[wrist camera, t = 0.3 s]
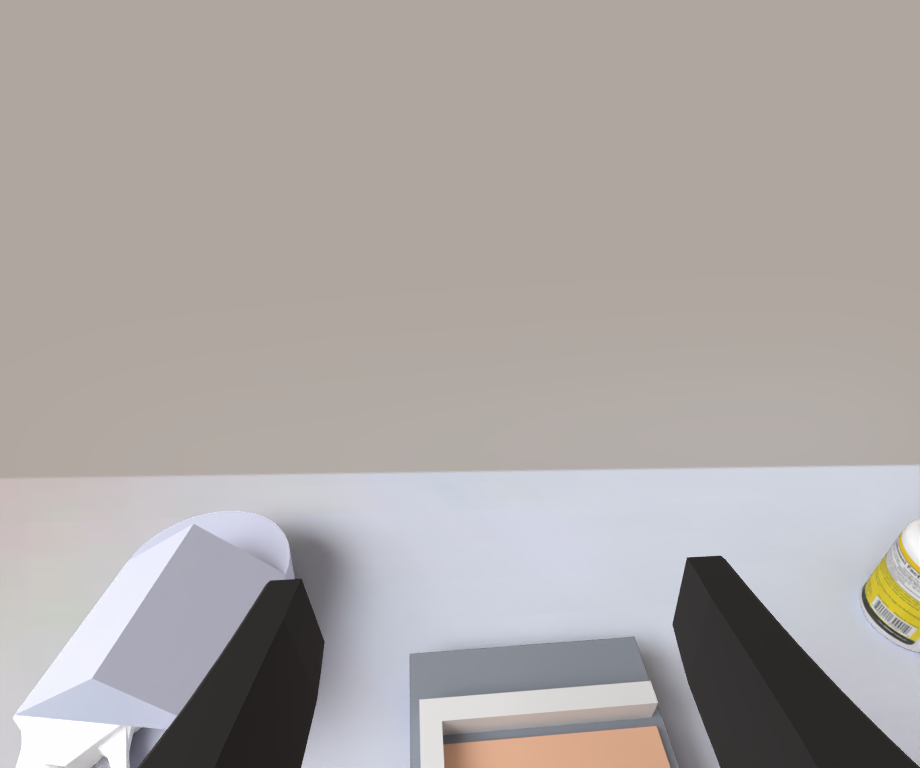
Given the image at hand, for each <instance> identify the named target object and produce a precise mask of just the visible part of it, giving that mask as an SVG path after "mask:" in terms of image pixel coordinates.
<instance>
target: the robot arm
mask: <svg viewBox="0 0 920 768" xmlns="http://www.w3.org/2000/svg"><path fill="white" fill-rule="evenodd" d="M673 628H674V632H675V636H676V640H677V643H678V647H679V651H680V655H681V659H682V662H683V666H684V670H685V673H686V677H687V680H688V683H689V686H690V689H691V692H692V694H693V697H694V700H695V702H696V705H697V707H698V710H699V713H700V715H701V718H702V721H703V723H704V726H705V729H706V731H707V734H708V736H709V739H710V742H711V744H712V747H713V749H714V752H715V754H716V757H717V760H718V762H719V765H720V767H721V768H920V767H919V766H918V765H917V764H916V763H915V762H914V761H913V760H911V759H910V758H909V757H908V756H907V755H906V754H905V753H904V752H903V751H902V750H901V749H900V748H899V747H898V746H897V745H896V744H895V743H894V742H893V741H892V740H890V739H889V738H888V737H887V736H886V735H885V734H884V733H883V732H882V731H881V730H880V729H879V728H878V727H877V726H876V725H875V724H874V723H873V722H872V721H871V720H870V719H869V718H868V717H867V716H866V715H865V714H864V713H863V712H862V711H861V710H860V709H859V708H858V707H857V706H856V705H855V704H854V703H853V702H852V701H851V700H850V699H849V698H848V697H847V696H846V695H845V694H844V693H843V692H842V690H841V689H840V688H839V687H838V686H837V685H836V684H835V683H834V682H833V681H832V680H831V679H830V678H829V677H828V676H827V675H826V674H825V673H824V671H823V670H822V669H821V668H820V667H819V666H818V665H817V664H816V663H815V662H814V661H813V660H812V659H811V657H810V656H809V655H808V654H807V653H806V652H805V651H804V650H803V649H802V648H801V647H800V646H799V645H798V643H797V642H796V641H795V640H794V639H793V638H792V637H791V636H790V635H789V633H788V632H787V631H786V630H785V629H784V628H783V627H782V626H781V624H780V623H779V622H778V621H777V620H776V619H775V618H774V616H773V615H772V614H771V613H770V612H769V611H768V610H767V608H766V607H765V606H764V605H763V604H762V603H761V601H760V600H759V599H758V598H757V597H756V596H755V594H754V593H753V592H752V591H751V590H750V588H749V587H748V586H747V585H746V584H745V583H744V581H743V580H742V579H741V578H740V577H739V575H738V574H737V573H736V572H735V571H734V569H733V568H732V567H731V566H730V565H729V563H728V562H727V561H726V560H725V559H724V558H723V557H722V556H707V557H689V558H687V560H686V565H685V569H684V574H683V579H682V583H681V588H680V592H679V597H678V602H677V606H676V611H675V615H674V620H673ZM323 649H324V639H323V637H322V634H321V631H320V628H319V626H318V623H317V620H316V617H315V615H314V612H313V609H312V606H311V604H310V601H309V598H308V596H307V593H306V590H305V587H304V585H303V582H302V579H288V580H270V581H269V582H268V583H267V584H266V585H265V586H264V588H263V590H262V591H261V593H260V594H259V596H258V598H257V599H256V601H255V602H254V604H253V605H252V607H251V609H250V610H249V612H248V613H247V615H246V616H245V618H244V619H243V621H242V623H241V624H240V626H239V627H238V629H237V630H236V632H235V633H234V635H233V636H232V638H231V639H230V641H229V642H228V644H227V645H226V647H225V648H224V650H223V651H222V653H221V654H220V656H219V657H218V659H217V660H216V662H215V663H214V665H213V666H212V667H211V669H210V670H209V672H208V673H207V675H206V676H205V678H204V679H203V680H202V682H201V683H200V685H199V686H198V688H197V689H196V690H195V692H194V693H193V695H192V696H191V698H190V699H189V700H188V702H187V703H186V705H185V706H184V707H183V709H182V710H181V711H180V713H179V714H178V715H177V717H176V718H175V719H174V721H173V722H172V723H171V725H170V726H169V727H168V729H167V730H166V731H165V733H164V734H163V735H162V737H161V738H160V739H159V741H158V742H157V743H156V745H155V746H154V747H153V749H152V750H151V751H150V753H149V754H148V755H147V757H146V758H145V759H144V760H143V762H142V763H141V764H140V765H139V767H138V768H301V765H302V761H303V757H304V753H305V749H306V744H307V740H308V736H309V732H310V727H311V723H312V719H313V715H314V710H315V706H316V701H317V696H318V688H319V681H320V674H321V666H322V657H323Z"/></svg>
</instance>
